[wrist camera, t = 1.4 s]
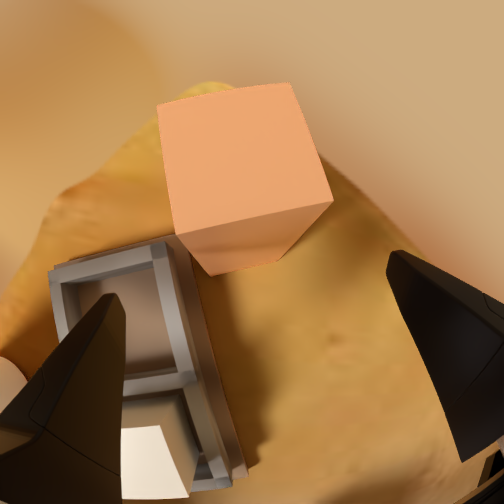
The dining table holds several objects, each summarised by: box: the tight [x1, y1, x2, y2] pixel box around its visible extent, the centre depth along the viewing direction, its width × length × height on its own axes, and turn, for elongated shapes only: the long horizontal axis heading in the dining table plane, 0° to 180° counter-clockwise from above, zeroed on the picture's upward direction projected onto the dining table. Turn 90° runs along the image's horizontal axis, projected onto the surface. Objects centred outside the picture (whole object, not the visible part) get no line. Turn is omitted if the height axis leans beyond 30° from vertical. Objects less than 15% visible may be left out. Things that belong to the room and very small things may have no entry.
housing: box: [48, 234, 249, 492], centre depth 18 cm, size 19×11×4 cm, turn 14°
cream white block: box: [121, 394, 199, 499], centre depth 15 cm, size 5×5×6 cm
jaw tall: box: [157, 82, 334, 277], centre depth 16 cm, size 5×5×13 cm
